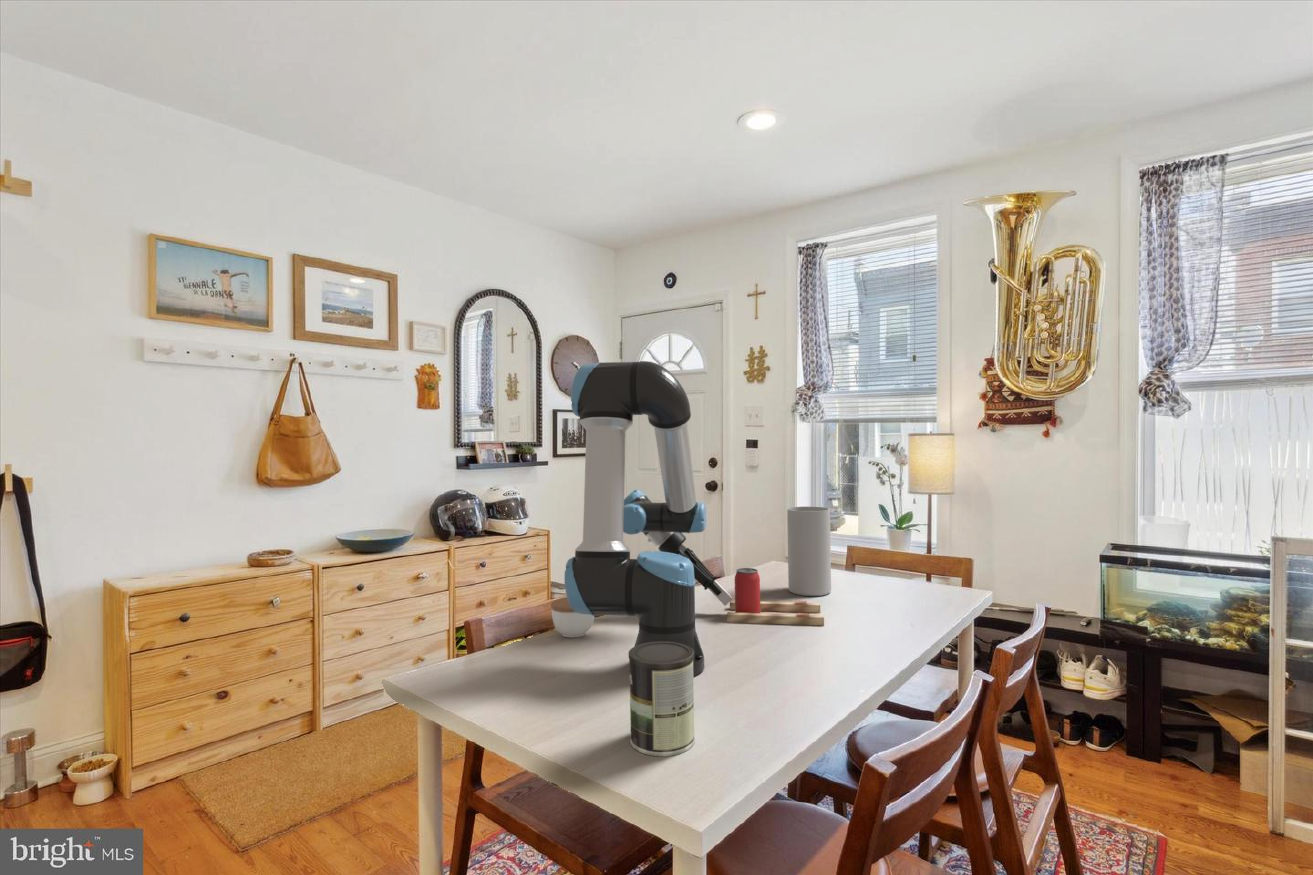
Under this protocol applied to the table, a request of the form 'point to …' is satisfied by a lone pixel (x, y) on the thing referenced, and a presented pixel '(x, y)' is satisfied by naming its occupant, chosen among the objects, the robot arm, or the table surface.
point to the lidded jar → (569, 619)
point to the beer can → (747, 591)
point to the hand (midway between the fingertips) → (728, 601)
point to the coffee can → (661, 698)
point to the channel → (780, 618)
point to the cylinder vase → (809, 551)
